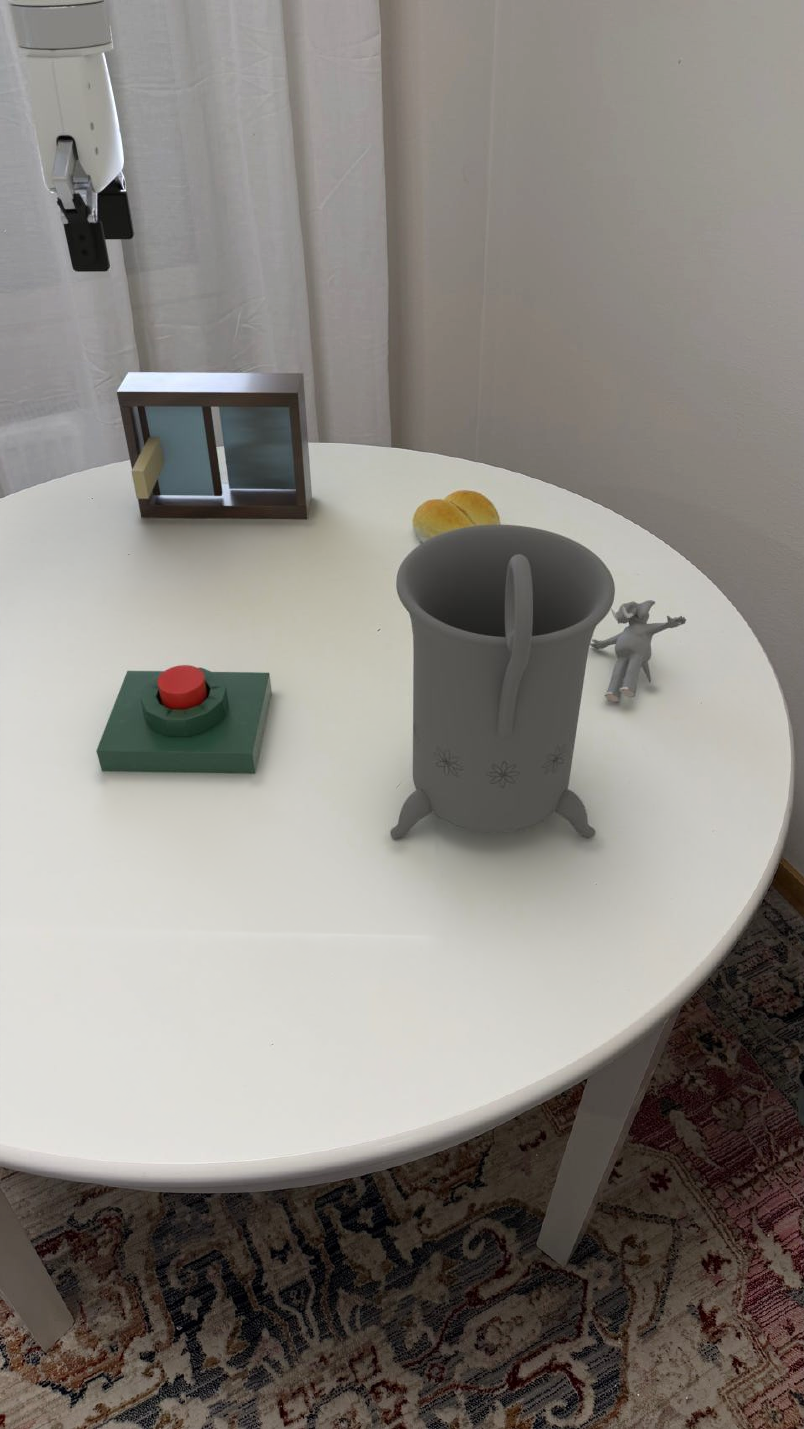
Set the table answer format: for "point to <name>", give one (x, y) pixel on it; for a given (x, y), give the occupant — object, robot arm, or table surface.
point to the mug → (499, 673)
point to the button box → (187, 726)
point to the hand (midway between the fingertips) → (105, 254)
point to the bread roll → (453, 514)
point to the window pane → (177, 453)
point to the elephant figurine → (632, 646)
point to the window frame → (233, 441)
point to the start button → (182, 687)
